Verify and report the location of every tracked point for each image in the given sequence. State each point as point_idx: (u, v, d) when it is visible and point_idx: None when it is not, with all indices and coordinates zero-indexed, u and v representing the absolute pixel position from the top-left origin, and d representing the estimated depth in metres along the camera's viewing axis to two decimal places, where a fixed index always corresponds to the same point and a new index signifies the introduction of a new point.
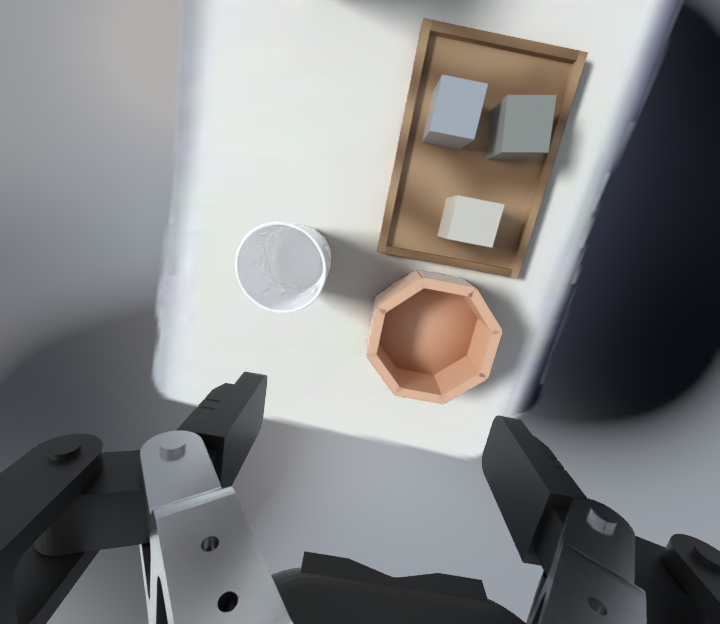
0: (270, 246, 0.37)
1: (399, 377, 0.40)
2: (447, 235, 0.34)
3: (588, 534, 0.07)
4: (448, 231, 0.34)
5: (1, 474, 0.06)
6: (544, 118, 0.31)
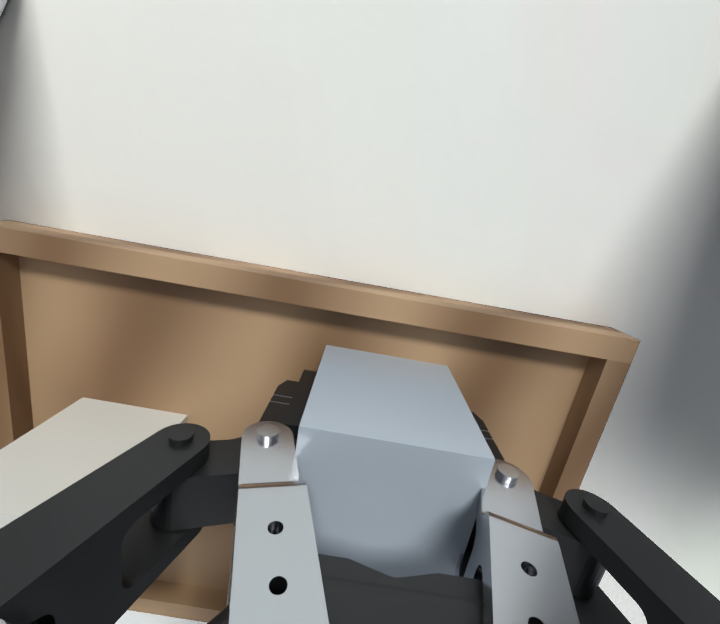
0: None
1: None
2: None
3: (488, 486, 0.08)
4: None
5: (133, 447, 0.07)
6: None
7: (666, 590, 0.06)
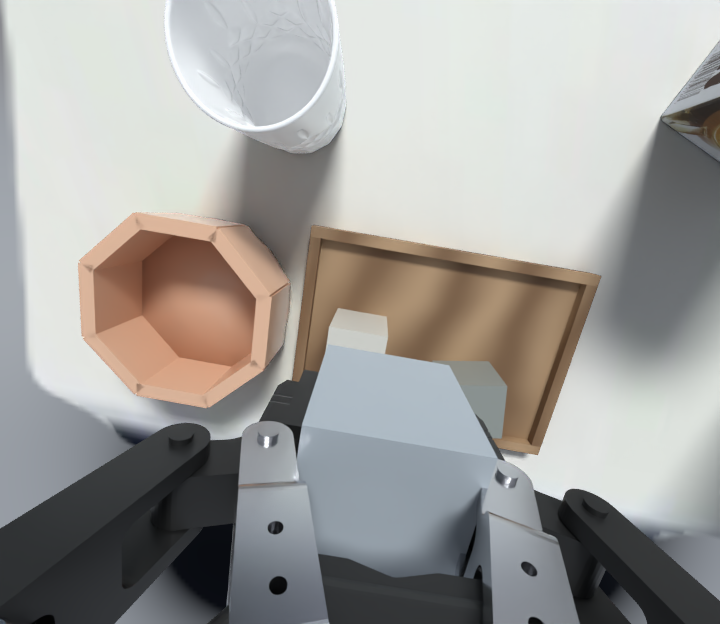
0: (307, 39, 0.22)
1: (120, 267, 0.26)
2: (334, 326, 0.24)
3: None
4: (339, 327, 0.24)
5: (133, 447, 0.07)
6: None
7: (667, 590, 0.06)
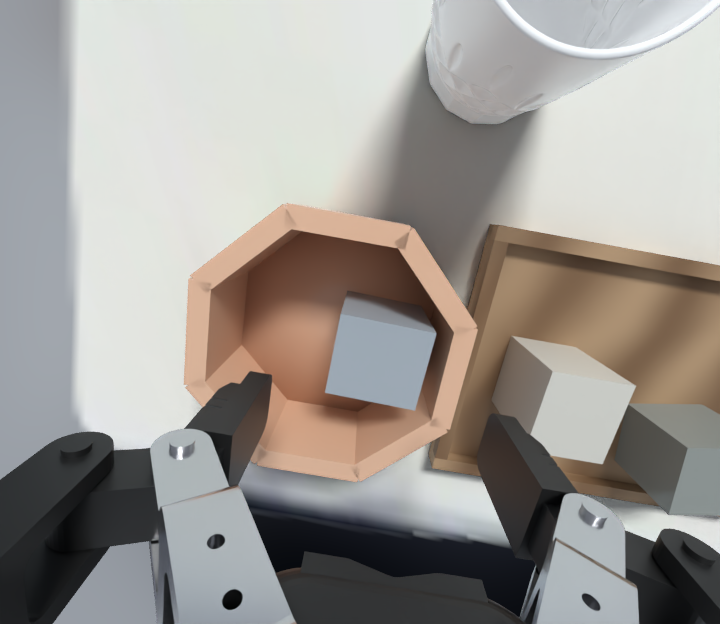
0: None
1: (231, 282, 0.18)
2: (556, 370, 0.17)
3: (578, 528, 0.07)
4: (563, 371, 0.17)
5: (15, 470, 0.06)
6: None
7: None
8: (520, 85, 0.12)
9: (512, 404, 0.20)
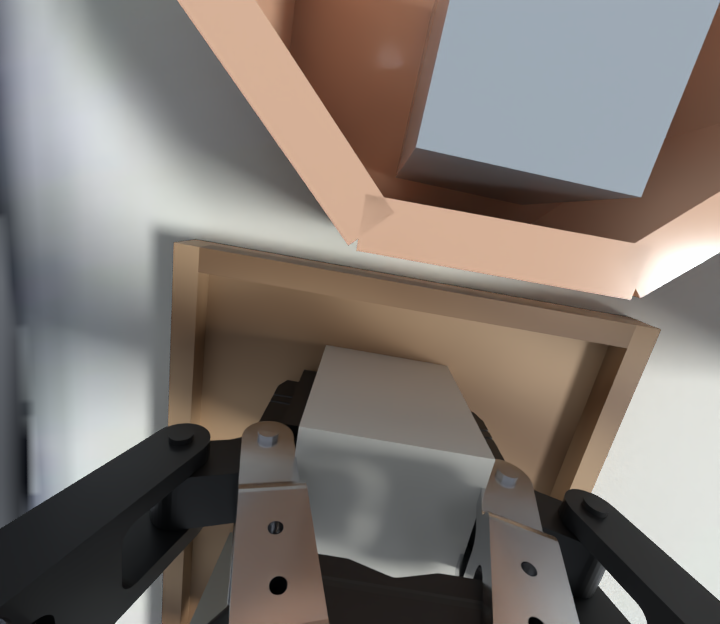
0: None
1: None
2: None
3: (488, 486, 0.08)
4: None
5: (133, 447, 0.07)
6: None
7: (667, 590, 0.06)
8: None
9: (357, 383, 0.10)
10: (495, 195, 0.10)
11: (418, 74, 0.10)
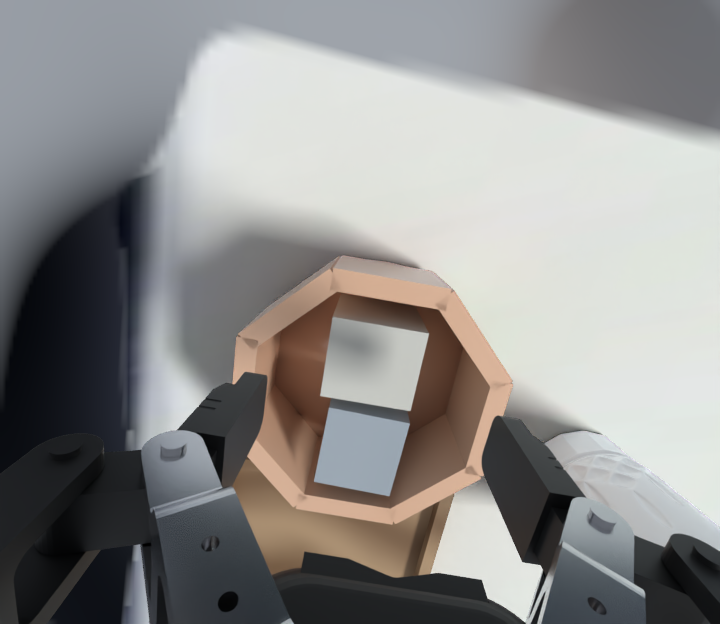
0: None
1: None
2: None
3: (587, 534, 0.07)
4: None
5: (2, 473, 0.06)
6: None
7: None
8: None
9: (360, 307, 0.18)
10: None
11: None
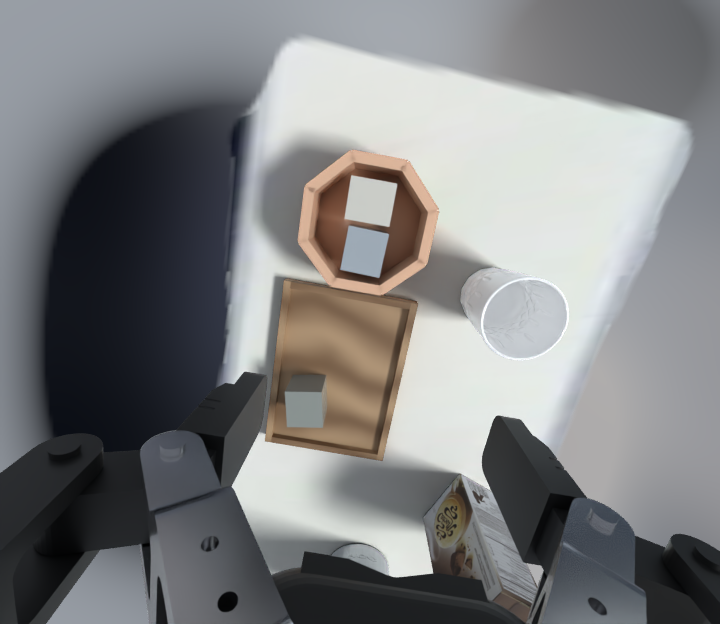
0: (520, 312, 0.39)
1: (398, 173, 0.35)
2: None
3: (588, 534, 0.07)
4: (395, 191, 0.33)
5: (0, 474, 0.06)
6: (293, 413, 0.41)
7: None
8: (475, 301, 0.34)
9: None
10: None
11: None
